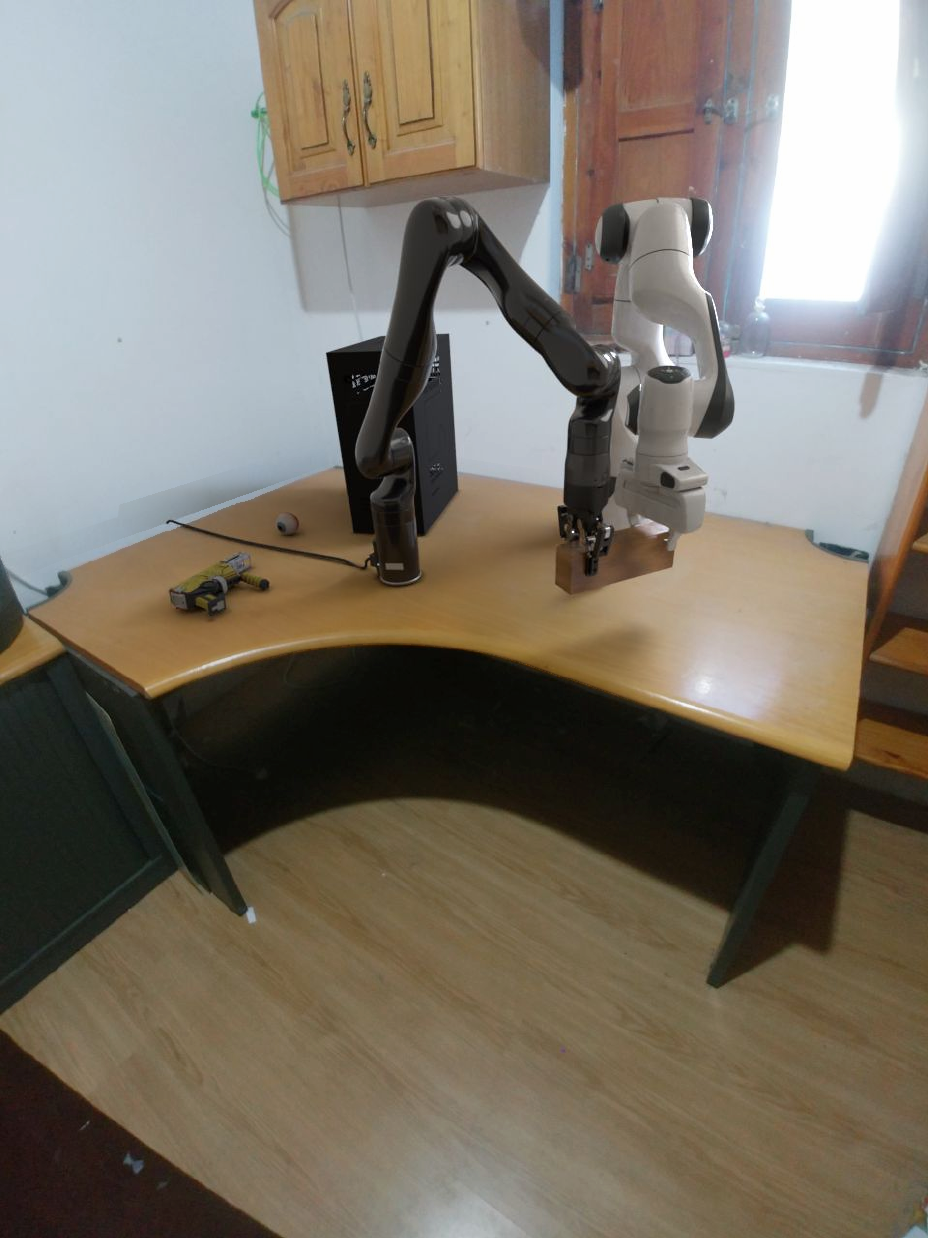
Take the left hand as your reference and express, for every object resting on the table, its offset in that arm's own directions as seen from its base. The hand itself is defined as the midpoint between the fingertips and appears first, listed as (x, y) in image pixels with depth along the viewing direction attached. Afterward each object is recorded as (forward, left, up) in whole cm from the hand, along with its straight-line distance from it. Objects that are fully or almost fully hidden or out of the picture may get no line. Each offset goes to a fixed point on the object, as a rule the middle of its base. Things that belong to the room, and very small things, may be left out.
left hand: (581, 568), depth 109 cm
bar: (+4, +7, -3) cm, 8 cm away
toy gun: (-73, -24, -13) cm, 78 cm away
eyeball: (-89, +5, -13) cm, 90 cm away
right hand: (+8, +13, +2) cm, 15 cm away
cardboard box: (-72, +36, -13) cm, 81 cm away
